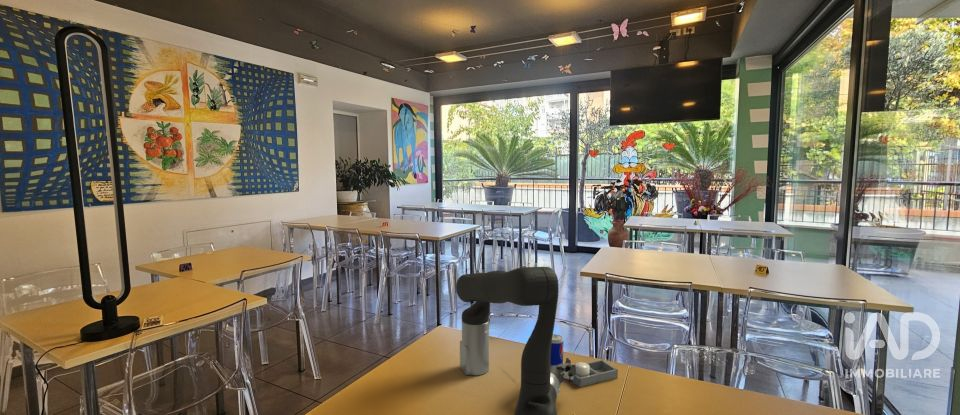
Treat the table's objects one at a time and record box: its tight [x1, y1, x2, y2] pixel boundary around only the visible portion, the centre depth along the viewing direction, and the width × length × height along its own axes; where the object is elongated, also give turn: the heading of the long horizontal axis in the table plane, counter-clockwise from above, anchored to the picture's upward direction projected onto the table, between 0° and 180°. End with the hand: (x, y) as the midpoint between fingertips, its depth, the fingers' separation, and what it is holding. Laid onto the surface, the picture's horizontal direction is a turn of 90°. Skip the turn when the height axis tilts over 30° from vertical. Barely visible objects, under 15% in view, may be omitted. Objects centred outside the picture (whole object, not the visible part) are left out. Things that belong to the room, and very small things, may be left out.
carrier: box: [572, 359, 619, 388], centre depth 135 cm, size 15×8×4 cm, turn 113°
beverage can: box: [550, 333, 564, 384], centre depth 133 cm, size 5×5×15 cm
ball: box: [574, 361, 590, 378], centre depth 134 cm, size 5×5×4 cm
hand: (553, 359), depth 130 cm, fingers open, 8 cm apart
